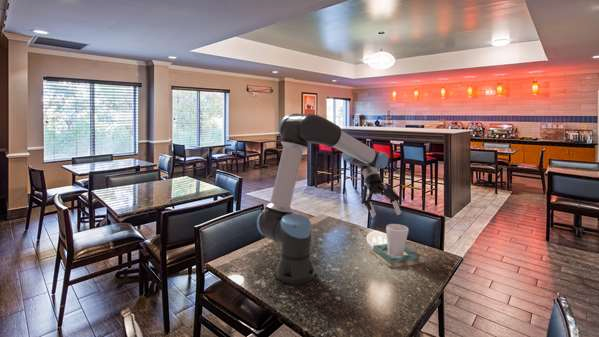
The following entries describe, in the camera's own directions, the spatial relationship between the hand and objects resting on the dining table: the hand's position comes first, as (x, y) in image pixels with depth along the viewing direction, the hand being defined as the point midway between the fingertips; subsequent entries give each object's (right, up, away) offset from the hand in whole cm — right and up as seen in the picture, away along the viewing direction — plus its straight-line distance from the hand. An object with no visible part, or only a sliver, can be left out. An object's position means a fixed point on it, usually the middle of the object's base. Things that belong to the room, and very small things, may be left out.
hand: (386, 214), depth 153 cm
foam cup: (+2, -17, -6) cm, 19 cm away
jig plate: (+2, -18, -6) cm, 19 cm away
